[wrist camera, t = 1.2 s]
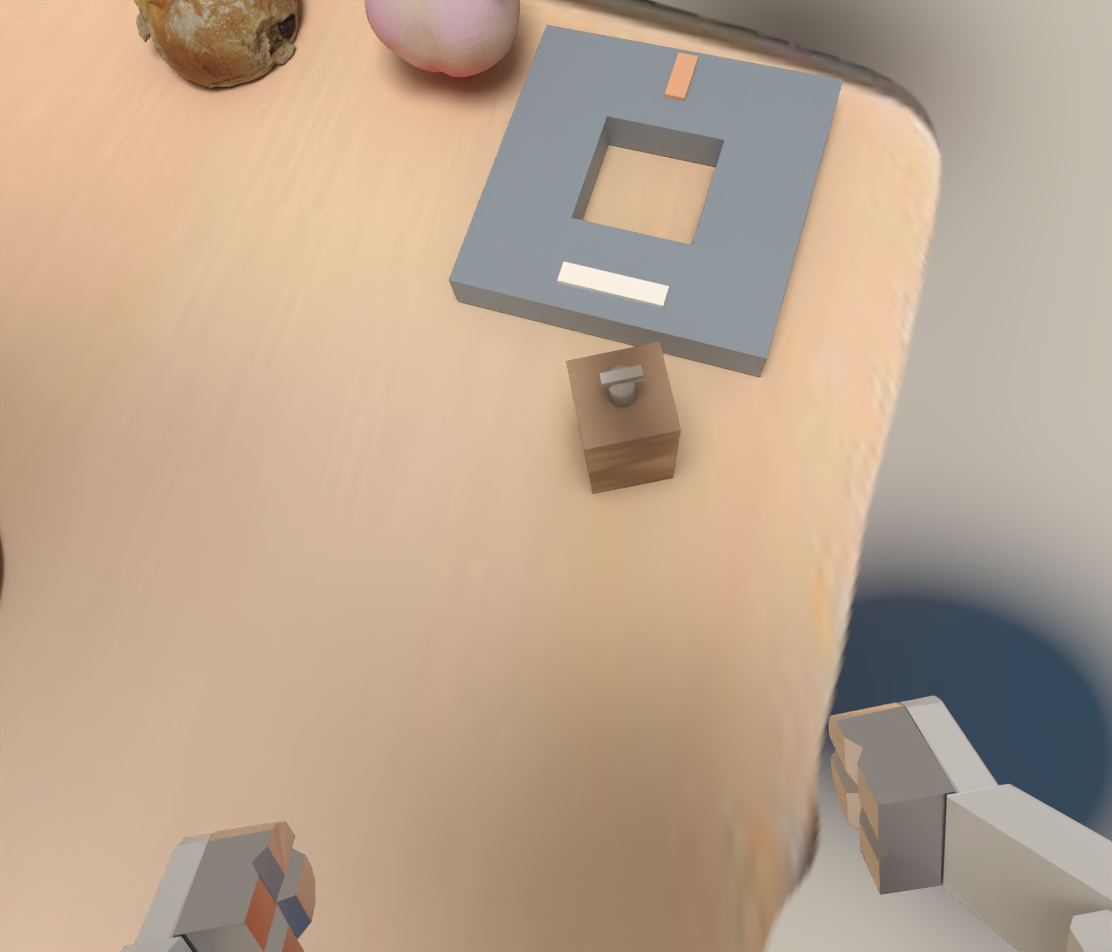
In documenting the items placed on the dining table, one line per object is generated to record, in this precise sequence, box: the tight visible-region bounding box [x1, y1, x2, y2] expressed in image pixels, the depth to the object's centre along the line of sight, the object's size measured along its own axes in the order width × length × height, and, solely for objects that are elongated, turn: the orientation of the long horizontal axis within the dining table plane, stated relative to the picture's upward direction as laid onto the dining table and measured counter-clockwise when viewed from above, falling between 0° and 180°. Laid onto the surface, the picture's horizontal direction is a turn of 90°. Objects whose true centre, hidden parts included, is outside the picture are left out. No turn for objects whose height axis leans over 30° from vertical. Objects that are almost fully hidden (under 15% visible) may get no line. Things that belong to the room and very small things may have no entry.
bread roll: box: [134, 0, 300, 88], centre depth 53 cm, size 10×10×8 cm
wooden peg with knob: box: [566, 342, 681, 494], centre depth 39 cm, size 4×4×10 cm
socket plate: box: [449, 25, 843, 377], centre depth 47 cm, size 18×18×3 cm
